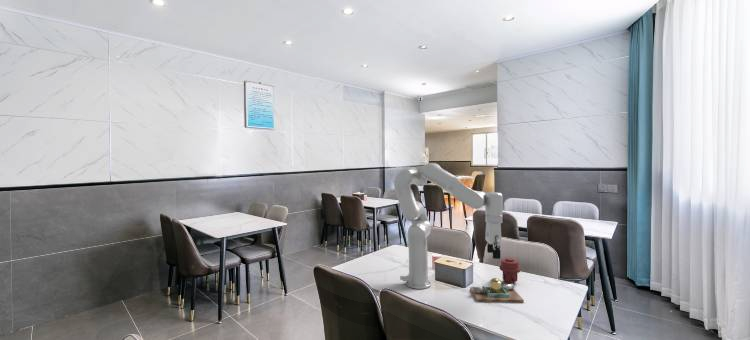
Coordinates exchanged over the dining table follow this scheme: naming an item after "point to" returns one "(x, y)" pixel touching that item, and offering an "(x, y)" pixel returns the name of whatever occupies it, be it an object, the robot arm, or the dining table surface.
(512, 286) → the shaft
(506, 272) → the mechanical component
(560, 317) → the dining table surface
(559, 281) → the dining table surface
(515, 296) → the brown wooden board
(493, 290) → the cylinder
